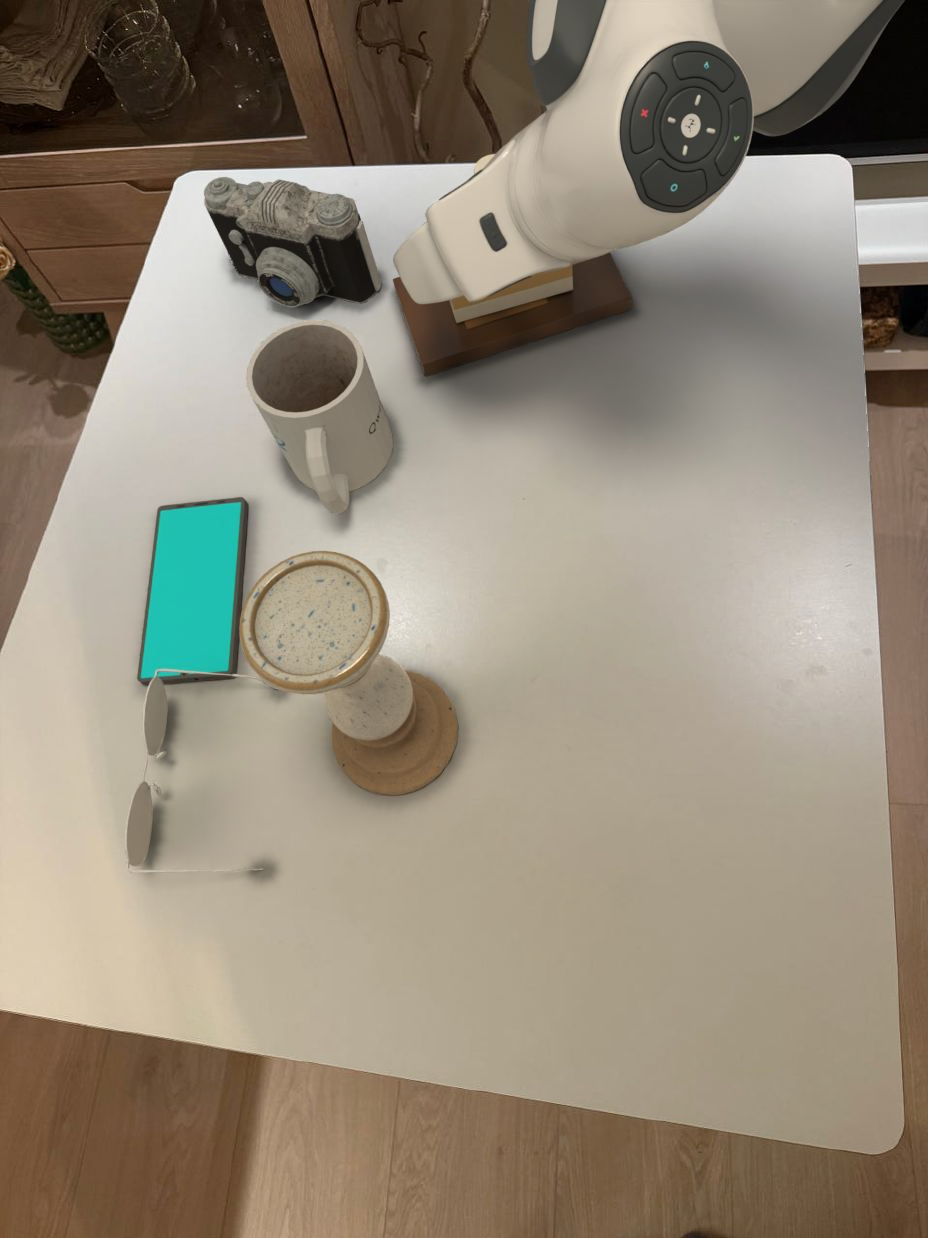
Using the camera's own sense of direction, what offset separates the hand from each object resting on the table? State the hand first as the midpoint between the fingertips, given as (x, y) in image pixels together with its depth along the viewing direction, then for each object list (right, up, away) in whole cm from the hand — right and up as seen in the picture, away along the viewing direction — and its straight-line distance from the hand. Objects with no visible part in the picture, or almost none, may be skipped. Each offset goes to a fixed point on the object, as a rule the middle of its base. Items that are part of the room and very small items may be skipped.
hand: (496, 226), depth 70 cm
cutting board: (+1, -3, +7) cm, 8 cm away
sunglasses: (-20, -42, -7) cm, 47 cm away
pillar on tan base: (+1, -3, +5) cm, 6 cm away
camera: (-17, -1, +11) cm, 20 cm away
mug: (-13, -19, +2) cm, 23 cm away
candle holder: (-7, -39, -8) cm, 40 cm away
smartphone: (-23, -29, -1) cm, 37 cm away
